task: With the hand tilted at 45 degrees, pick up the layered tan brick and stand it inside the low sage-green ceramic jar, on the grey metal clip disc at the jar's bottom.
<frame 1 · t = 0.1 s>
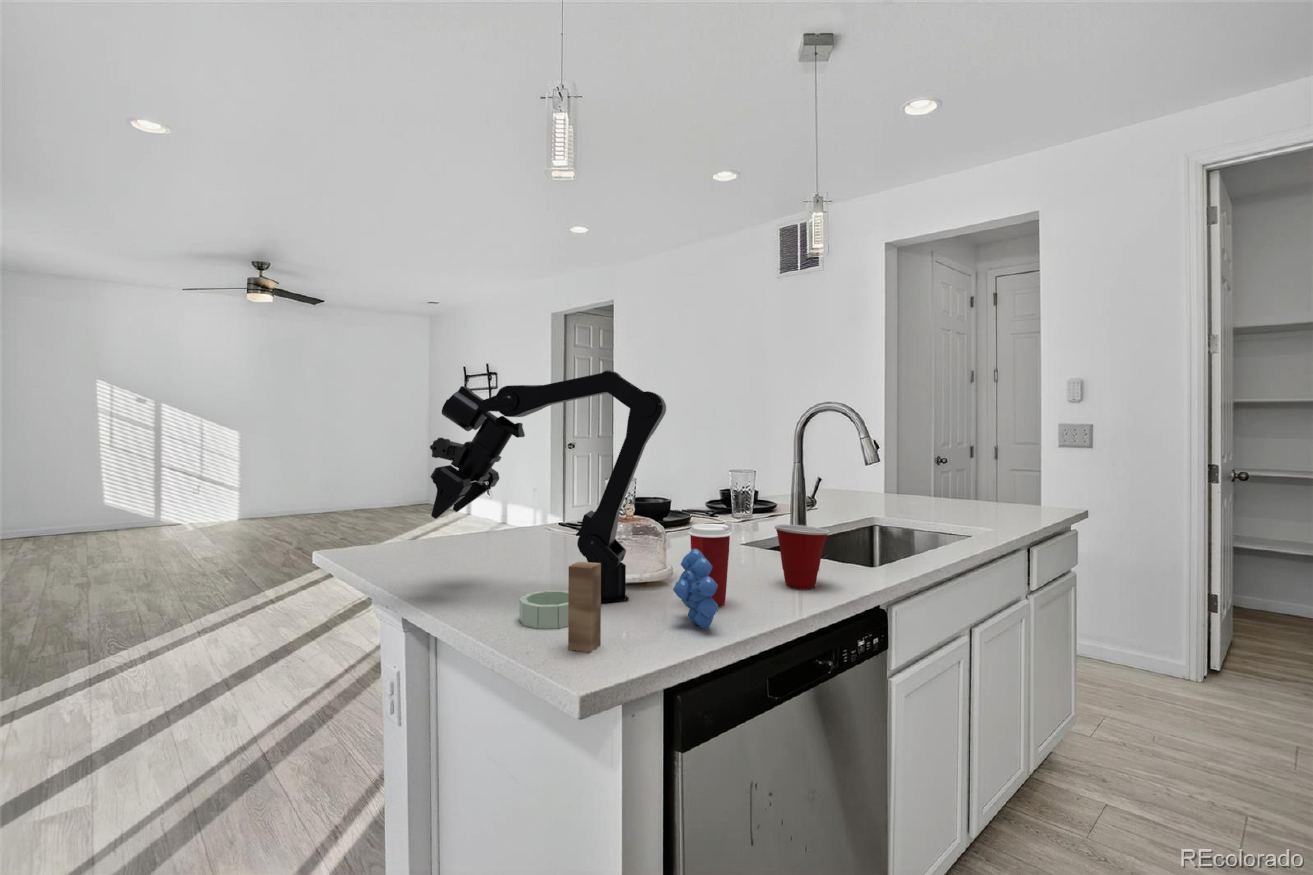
hand: (444, 513, 124), 15 cm above the table, tool tilted 35°, fingers open, 9 cm apart
layered tan brick: (584, 647, 94), on the table
jar: (551, 619, 108), on the table
paper cup: (709, 605, 117), on the table
plastic cup: (801, 587, 131), on the table
grapes: (692, 626, 105), on the table
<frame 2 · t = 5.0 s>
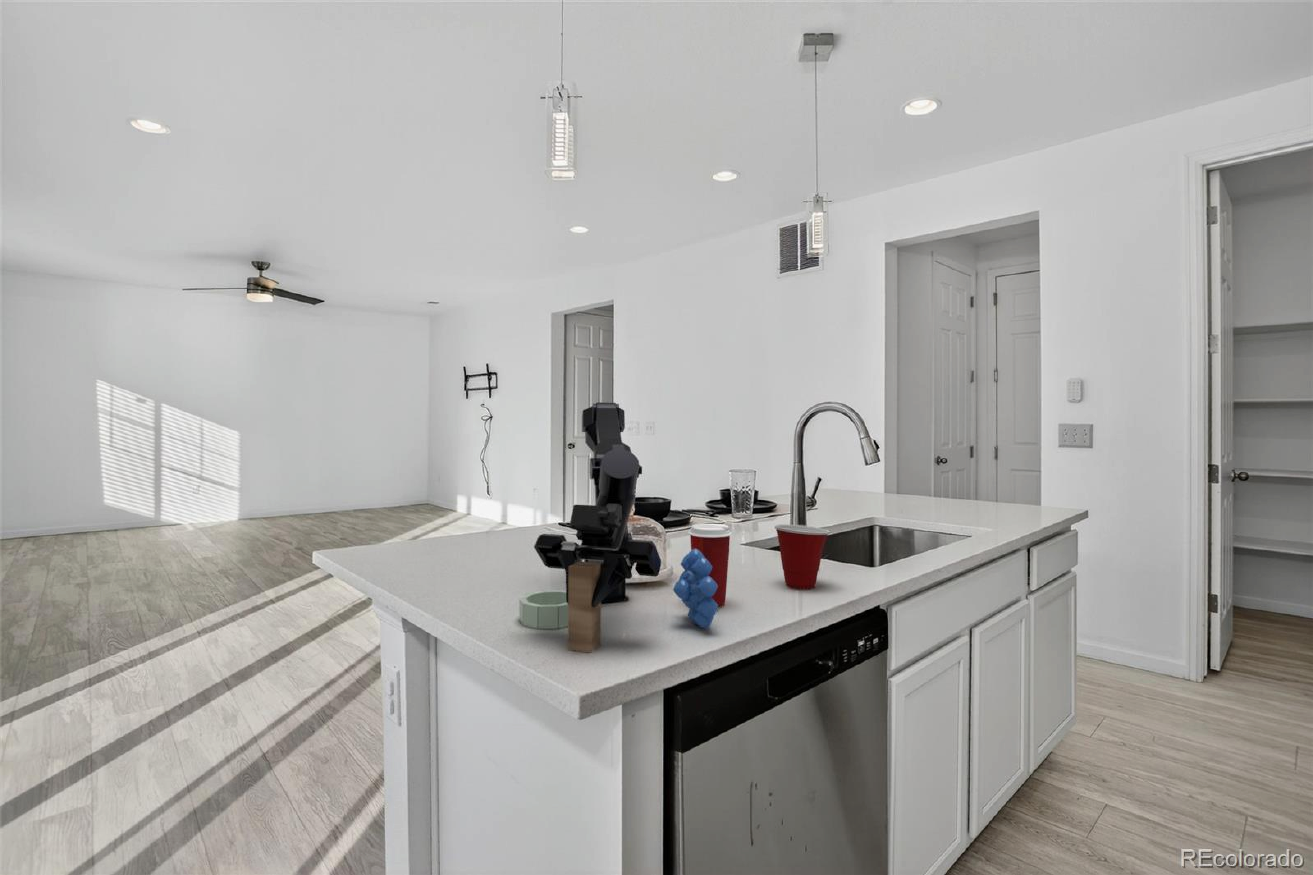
hand: (580, 604, 93), 7 cm above the table, tool tilted 45°, fingers closed on layered tan brick, 3 cm apart
layered tan brick: (584, 647, 94), on the table, touching gripper
everything else where it was.
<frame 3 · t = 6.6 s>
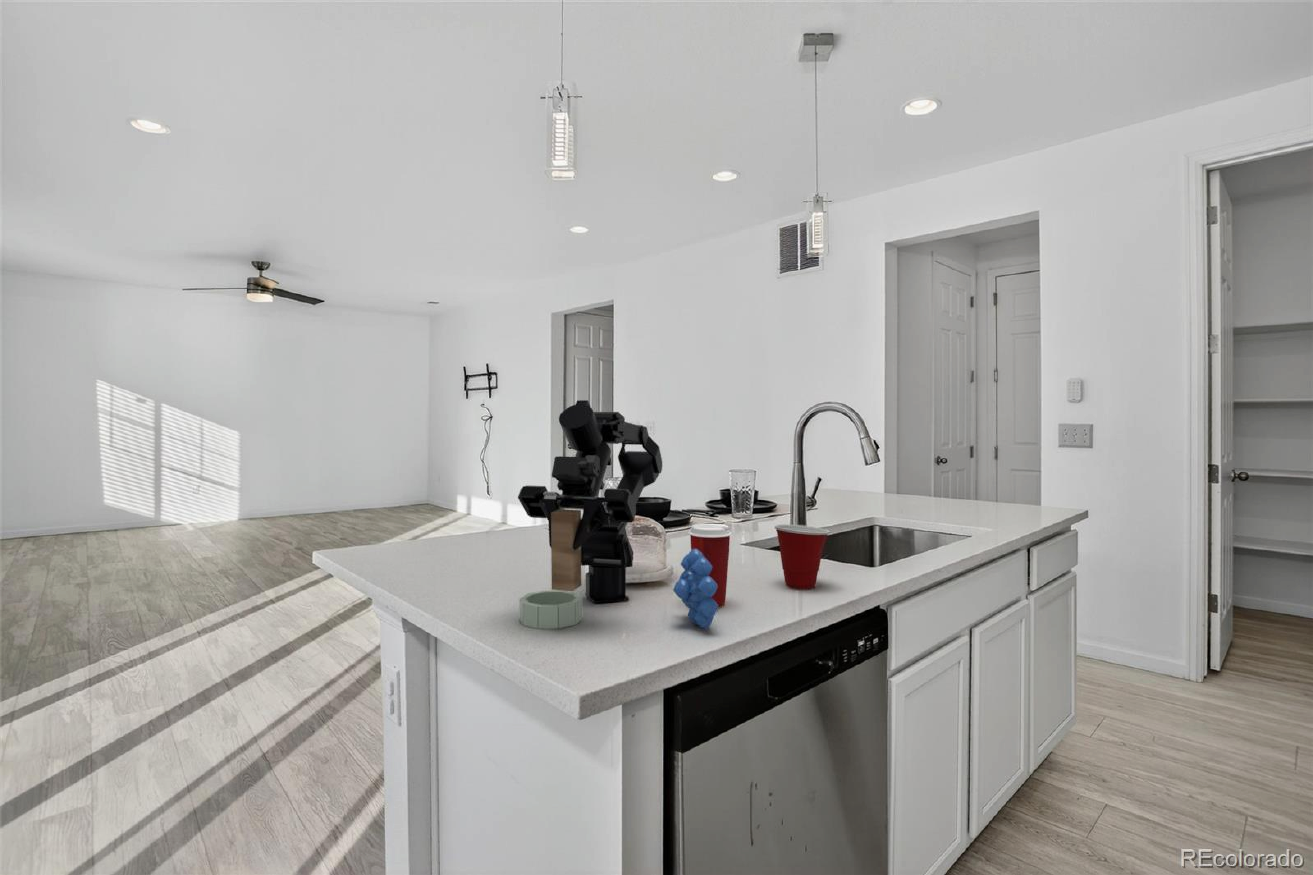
hand: (562, 547, 101), 13 cm above the table, tool tilted 45°, fingers closed on layered tan brick, 3 cm apart
layered tan brick: (566, 587, 103), point 7 cm above the table, touching gripper
everything else where it was.
when the fingers open (8 cm above the table, at t = 8.6 s): layered tan brick stays where it is, resting on jar.
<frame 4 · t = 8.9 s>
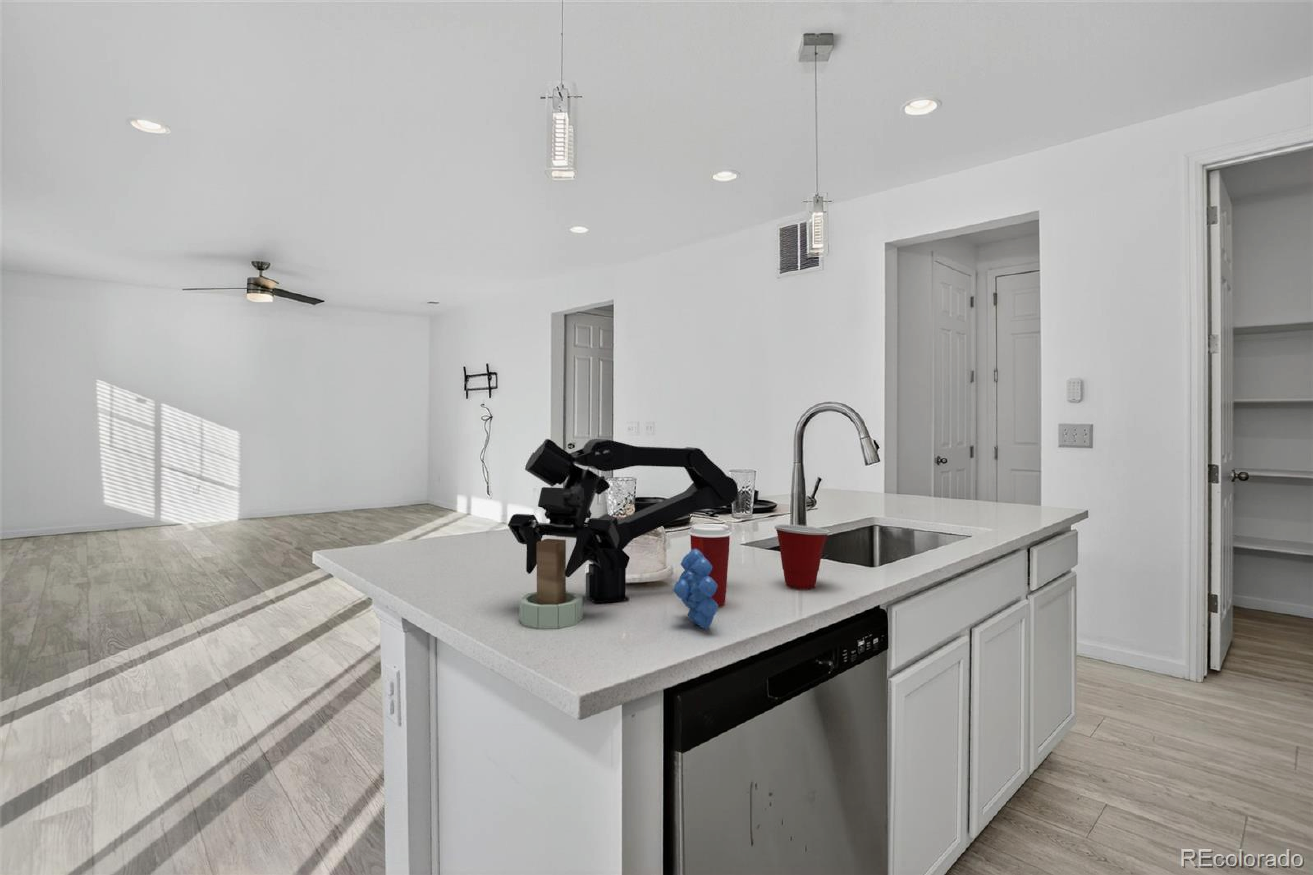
hand: (547, 574, 106), 8 cm above the table, tool tilted 45°, fingers open, 7 cm apart
layered tan brick: (551, 613, 108), point 1 cm above the table, touching jar
everything else where it was.
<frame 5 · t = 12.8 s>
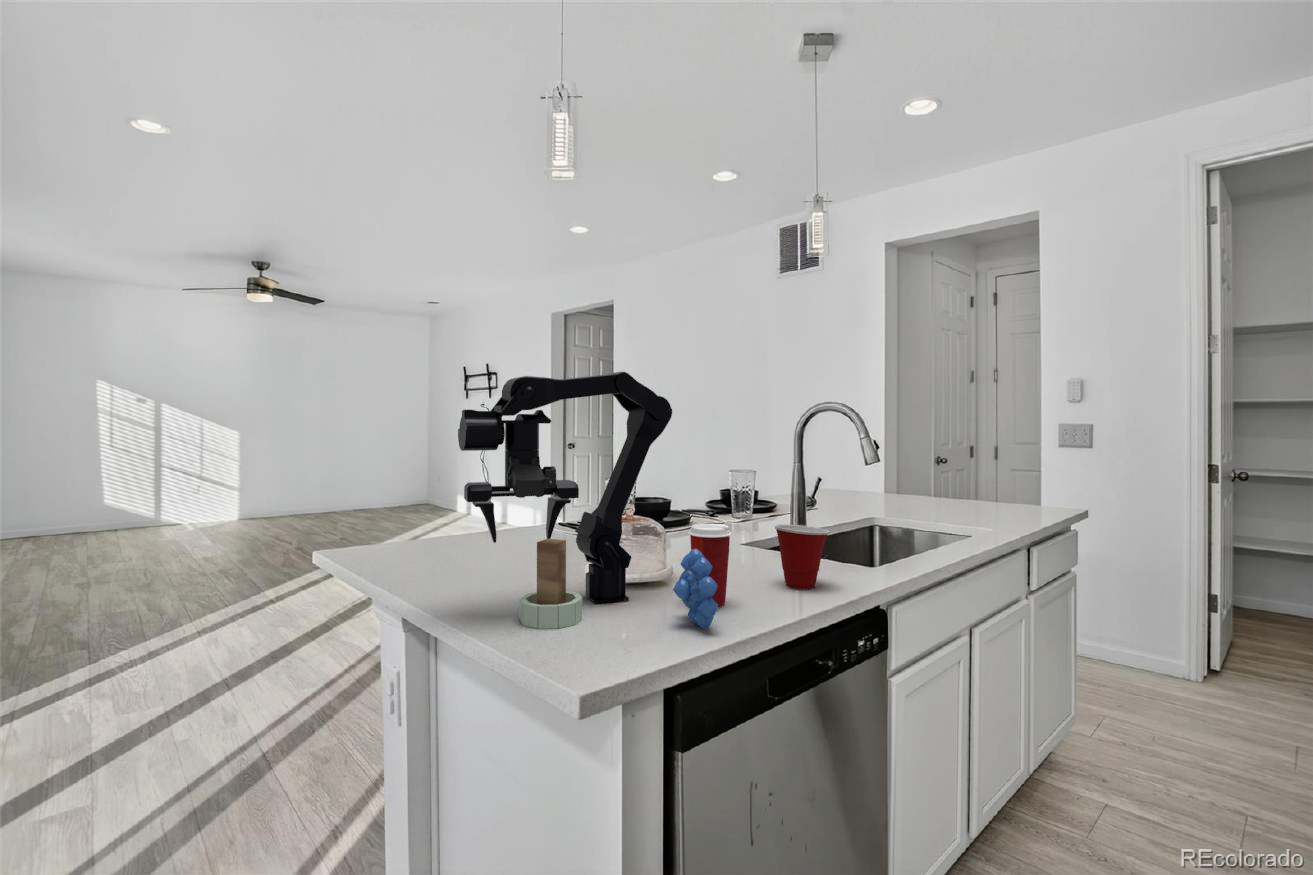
hand: (521, 540, 113), 12 cm above the table, tool pointing down, fingers open, 9 cm apart
nothing on the table moved.
at the end: layered tan brick 0.1 cm off-centre on the jar, point 0.9 cm above the jar's base; layered tan brick tilted 0°; the gripper is holding nothing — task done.
